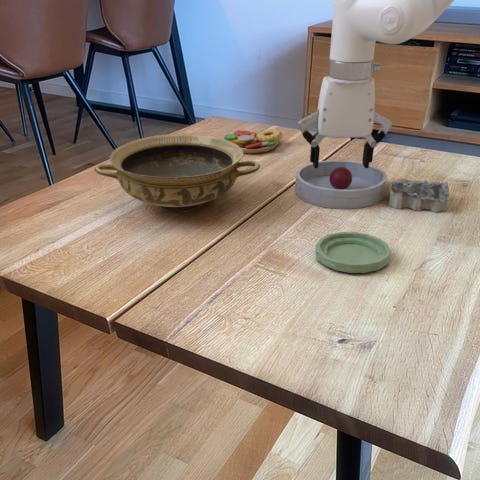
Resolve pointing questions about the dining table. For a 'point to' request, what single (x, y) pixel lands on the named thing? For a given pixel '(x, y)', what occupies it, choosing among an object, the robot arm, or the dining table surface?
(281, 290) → the dining table surface
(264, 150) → the toy food set
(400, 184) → the egg carton
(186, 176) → the ceramic bowl
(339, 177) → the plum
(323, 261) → the saucer
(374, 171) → the dish
